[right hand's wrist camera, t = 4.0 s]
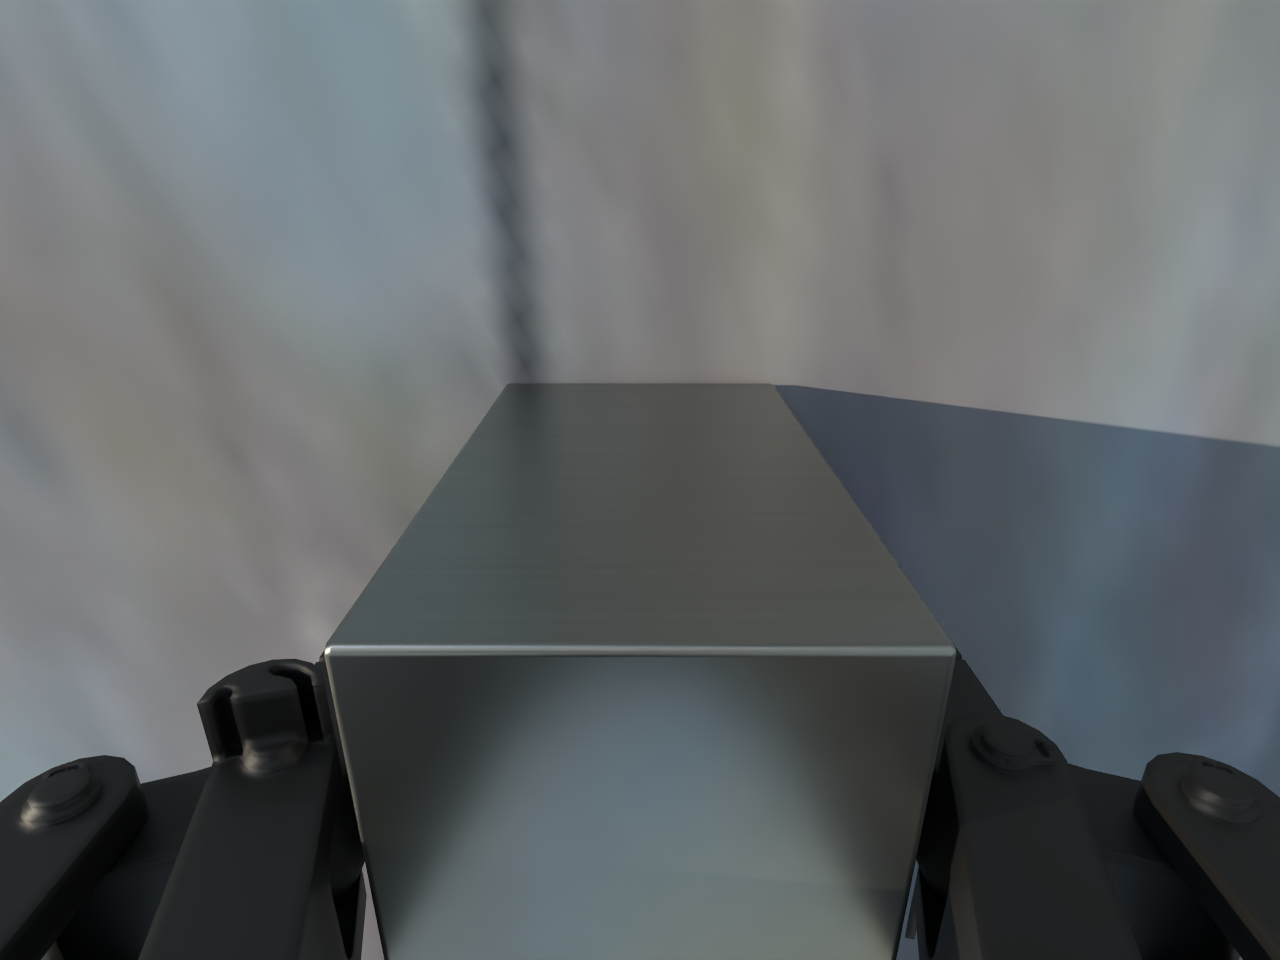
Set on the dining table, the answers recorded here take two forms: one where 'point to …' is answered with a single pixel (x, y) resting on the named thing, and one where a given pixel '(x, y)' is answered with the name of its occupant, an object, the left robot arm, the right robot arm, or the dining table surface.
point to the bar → (640, 692)
